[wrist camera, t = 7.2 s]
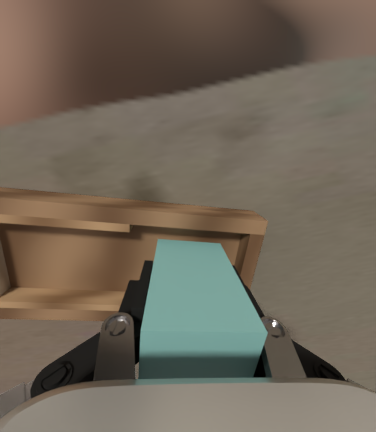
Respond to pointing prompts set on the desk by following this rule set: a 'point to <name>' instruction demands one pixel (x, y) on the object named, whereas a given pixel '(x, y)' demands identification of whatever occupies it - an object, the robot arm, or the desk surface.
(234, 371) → the aqua rectangular block
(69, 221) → the slot board
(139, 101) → the desk surface
